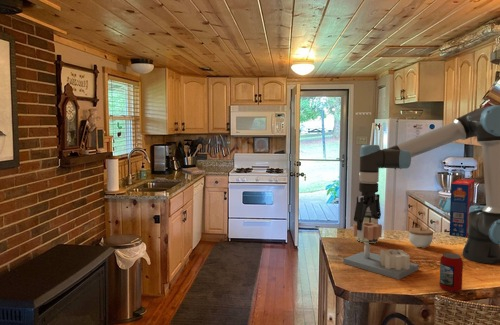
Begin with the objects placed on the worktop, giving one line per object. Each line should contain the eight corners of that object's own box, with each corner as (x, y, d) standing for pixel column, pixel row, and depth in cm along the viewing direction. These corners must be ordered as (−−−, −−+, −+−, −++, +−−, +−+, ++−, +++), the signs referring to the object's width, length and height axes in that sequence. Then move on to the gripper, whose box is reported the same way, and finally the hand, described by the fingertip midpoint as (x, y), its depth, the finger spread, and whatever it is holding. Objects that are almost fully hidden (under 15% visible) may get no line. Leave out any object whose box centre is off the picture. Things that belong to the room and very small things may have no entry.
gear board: (418, 269, 149) (419, 249, 149) (398, 279, 139) (399, 258, 138) (364, 255, 167) (364, 237, 167) (343, 263, 157) (343, 244, 156)
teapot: (447, 209, 278) (447, 194, 277) (469, 212, 266) (469, 197, 265) (437, 211, 268) (437, 196, 268) (459, 215, 257) (460, 199, 256)
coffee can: (376, 238, 195) (377, 211, 194) (379, 244, 185) (379, 216, 184) (355, 237, 197) (356, 211, 196) (357, 243, 187) (357, 215, 186)
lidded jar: (422, 242, 188) (423, 224, 187) (437, 248, 178) (438, 229, 177) (403, 244, 186) (404, 225, 185) (418, 250, 175) (418, 230, 175)
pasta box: (466, 237, 198) (468, 184, 196) (449, 235, 202) (451, 183, 201) (472, 227, 220) (474, 180, 218) (457, 225, 225) (458, 179, 223)
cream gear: (402, 261, 153) (402, 249, 152) (411, 269, 143) (411, 256, 143) (378, 261, 153) (378, 249, 153) (385, 269, 144) (385, 256, 143)
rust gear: (383, 236, 156) (384, 224, 156) (371, 240, 150) (371, 228, 150) (363, 232, 163) (363, 220, 163) (350, 235, 157) (350, 224, 157)
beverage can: (435, 285, 133) (436, 252, 132) (453, 285, 134) (455, 251, 133) (447, 293, 126) (448, 258, 126) (466, 292, 127) (467, 257, 126)
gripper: (374, 179, 165) (373, 229, 167) (345, 183, 151) (343, 238, 152) (390, 181, 160) (389, 233, 161) (361, 185, 145) (360, 242, 146)
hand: (367, 235), depth 157 cm, fingers closed on rust gear, 10 cm apart
